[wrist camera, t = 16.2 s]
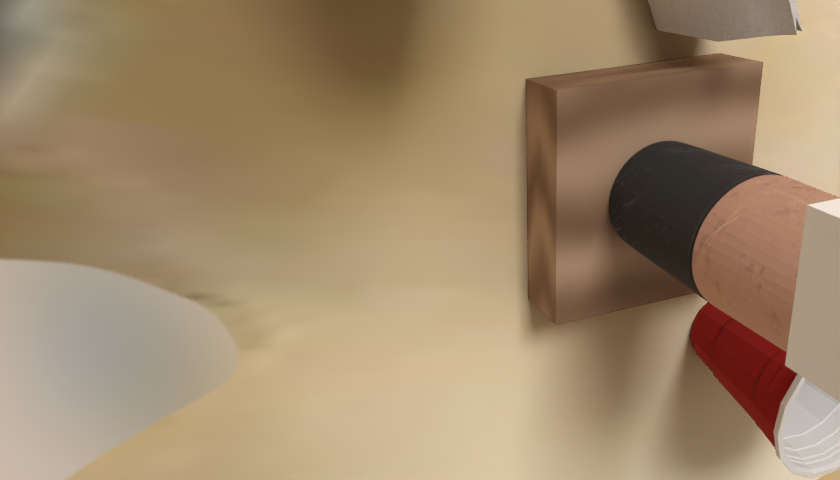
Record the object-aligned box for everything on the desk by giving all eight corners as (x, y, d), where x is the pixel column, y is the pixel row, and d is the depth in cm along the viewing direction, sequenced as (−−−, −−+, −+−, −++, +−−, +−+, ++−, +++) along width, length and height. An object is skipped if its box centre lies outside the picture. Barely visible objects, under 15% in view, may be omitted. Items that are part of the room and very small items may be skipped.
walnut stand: (526, 79, 47) (557, 90, 44) (720, 53, 51) (762, 62, 47) (528, 298, 53) (555, 324, 49) (702, 261, 57) (739, 282, 53)
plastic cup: (752, 390, 63) (875, 481, 53) (644, 384, 59) (753, 482, 49) (801, 268, 60) (942, 339, 50) (691, 253, 56) (818, 327, 46)
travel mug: (674, 109, 47) (996, 216, 29) (729, 193, 50) (1046, 334, 32) (581, 197, 47) (846, 358, 29) (643, 274, 50) (912, 460, 33)
